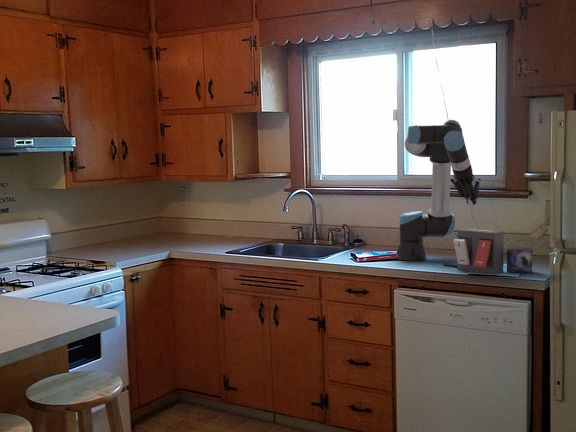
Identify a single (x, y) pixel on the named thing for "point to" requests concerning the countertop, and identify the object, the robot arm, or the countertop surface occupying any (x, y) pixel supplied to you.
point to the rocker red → (482, 254)
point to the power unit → (472, 244)
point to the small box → (519, 260)
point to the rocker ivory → (461, 251)
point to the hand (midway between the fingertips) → (473, 209)
